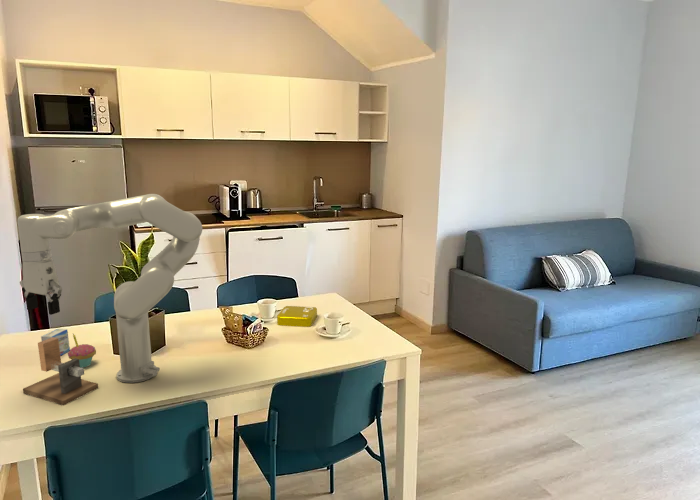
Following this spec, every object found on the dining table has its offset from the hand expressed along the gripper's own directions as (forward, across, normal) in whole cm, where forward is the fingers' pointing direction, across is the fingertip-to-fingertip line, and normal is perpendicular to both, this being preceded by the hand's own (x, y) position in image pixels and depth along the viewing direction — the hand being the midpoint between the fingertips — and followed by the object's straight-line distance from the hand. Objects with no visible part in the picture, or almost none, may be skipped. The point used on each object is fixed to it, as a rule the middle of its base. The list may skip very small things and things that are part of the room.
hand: (43, 311), depth 155 cm
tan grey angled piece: (+18, -6, 0) cm, 19 cm away
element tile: (+26, -38, -86) cm, 98 cm away
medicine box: (+26, +23, -18) cm, 39 cm away
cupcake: (+26, +7, -16) cm, 31 cm away
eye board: (+26, -3, 0) cm, 26 cm away
